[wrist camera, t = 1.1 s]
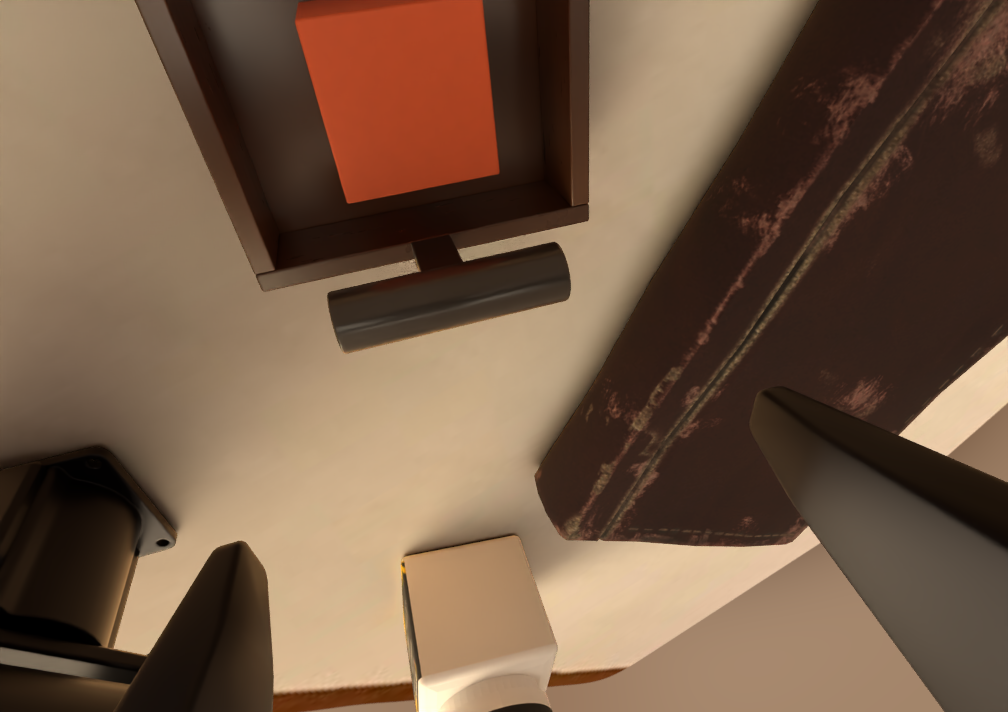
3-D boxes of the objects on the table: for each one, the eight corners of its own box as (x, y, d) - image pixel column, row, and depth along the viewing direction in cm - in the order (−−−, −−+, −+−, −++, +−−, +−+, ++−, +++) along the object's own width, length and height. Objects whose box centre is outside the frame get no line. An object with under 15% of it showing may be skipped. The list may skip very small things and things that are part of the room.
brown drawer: (555, 199, 20) (644, 293, 15) (274, 259, 19) (259, 388, 13) (540, -212, 13) (693, -313, 8) (98, -175, 12) (-75, -269, 7)
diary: (521, 467, 29) (553, 546, 25) (831, -73, 18) (977, -78, 14) (755, 487, 38) (806, 549, 34) (1072, 129, 26) (1205, 161, 22)
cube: (466, 132, 17) (500, 174, 14) (340, 156, 17) (347, 204, 14) (446, -19, 15) (482, -8, 12) (297, 2, 14) (293, 19, 11)
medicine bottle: (399, 554, 31) (437, 813, 22) (519, 531, 33) (600, 760, 24) (403, 620, 35) (436, 860, 26) (508, 596, 37) (574, 812, 28)
